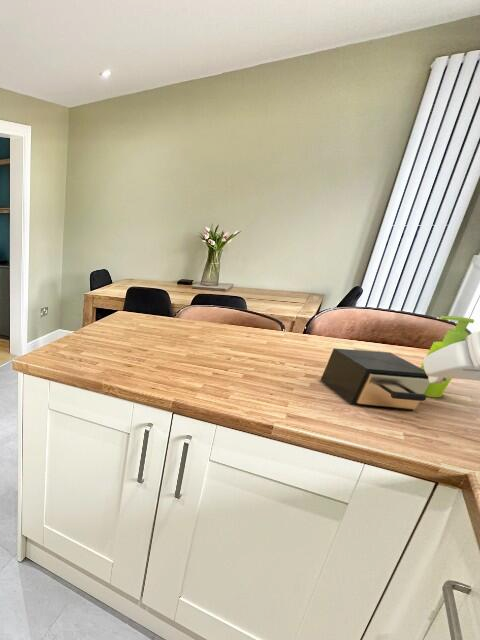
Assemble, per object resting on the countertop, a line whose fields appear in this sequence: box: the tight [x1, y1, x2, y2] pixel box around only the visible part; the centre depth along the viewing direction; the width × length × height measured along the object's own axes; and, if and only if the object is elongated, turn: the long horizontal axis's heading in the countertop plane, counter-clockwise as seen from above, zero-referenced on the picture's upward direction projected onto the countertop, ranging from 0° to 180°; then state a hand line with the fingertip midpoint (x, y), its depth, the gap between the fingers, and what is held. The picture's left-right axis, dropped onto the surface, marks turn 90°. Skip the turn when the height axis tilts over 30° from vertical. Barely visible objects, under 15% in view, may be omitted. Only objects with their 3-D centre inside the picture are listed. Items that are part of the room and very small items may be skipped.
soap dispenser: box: [419, 315, 475, 398], centre depth 100 cm, size 6×7×20 cm
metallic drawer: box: [355, 372, 430, 410], centre depth 97 cm, size 18×11×8 cm, turn 165°
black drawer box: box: [320, 347, 428, 412], centre depth 101 cm, size 15×13×10 cm
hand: (462, 382), depth 78 cm, fingers open, 8 cm apart
